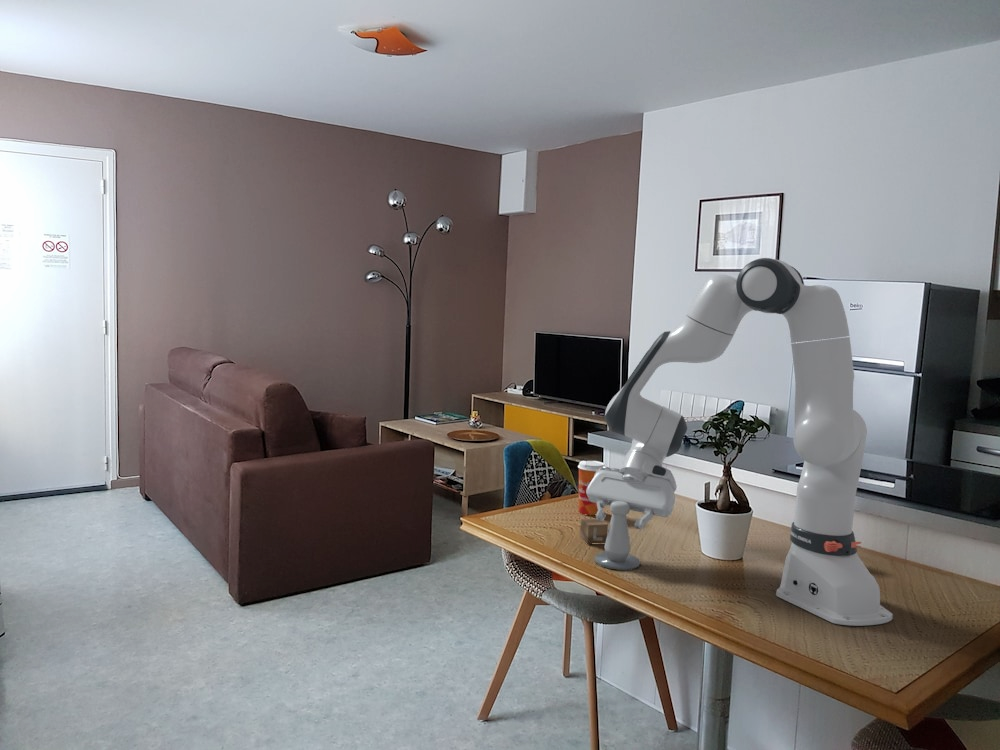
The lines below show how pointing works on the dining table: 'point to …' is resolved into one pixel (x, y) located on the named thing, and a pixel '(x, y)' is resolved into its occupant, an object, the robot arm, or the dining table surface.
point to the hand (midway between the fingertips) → (618, 523)
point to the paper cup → (585, 477)
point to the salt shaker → (618, 533)
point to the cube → (593, 530)
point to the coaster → (628, 564)
